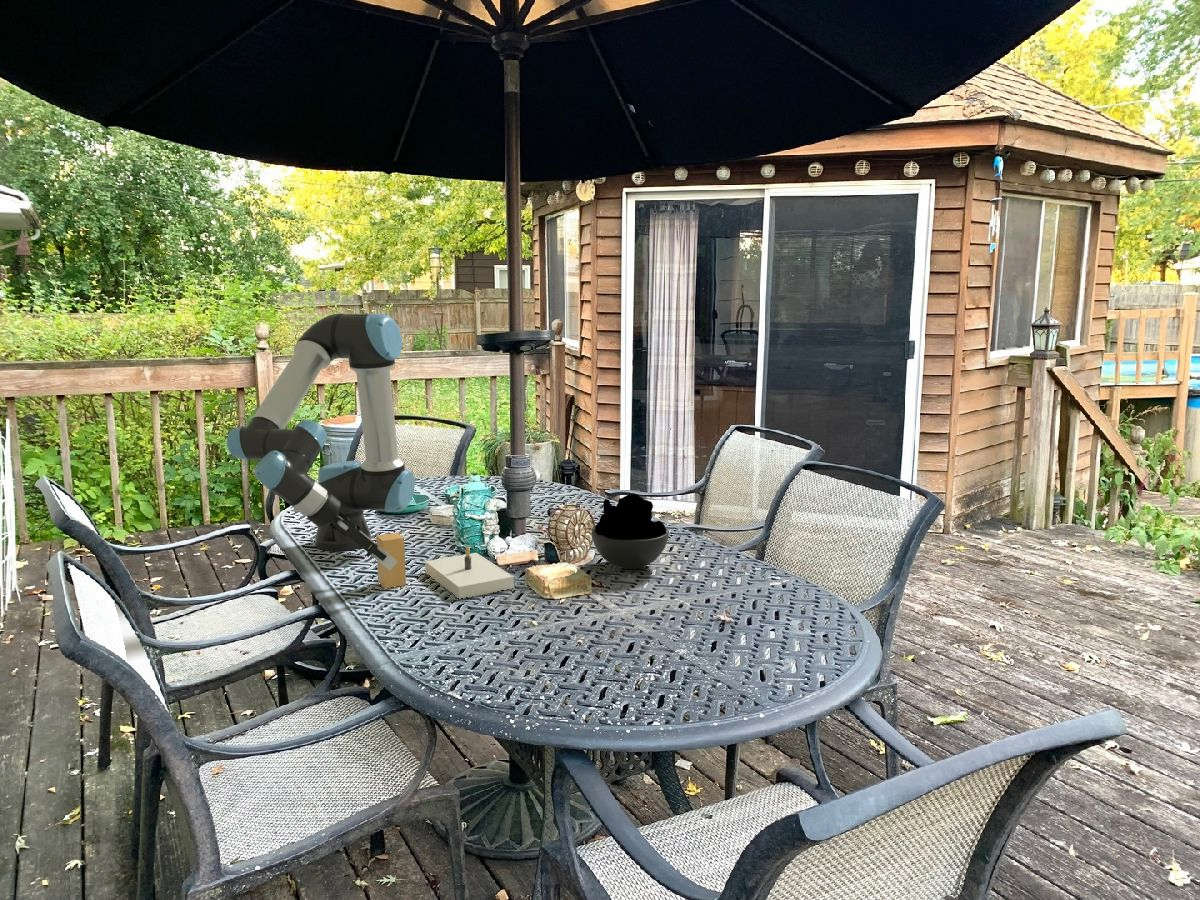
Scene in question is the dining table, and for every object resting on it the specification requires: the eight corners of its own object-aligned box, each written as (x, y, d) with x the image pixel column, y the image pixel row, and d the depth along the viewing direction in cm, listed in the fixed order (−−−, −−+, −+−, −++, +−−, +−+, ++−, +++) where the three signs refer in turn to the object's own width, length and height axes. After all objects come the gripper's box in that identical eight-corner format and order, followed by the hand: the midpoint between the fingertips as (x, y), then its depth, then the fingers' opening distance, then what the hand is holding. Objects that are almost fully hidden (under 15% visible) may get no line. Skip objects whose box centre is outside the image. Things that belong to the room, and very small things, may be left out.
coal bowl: (668, 556, 224) (670, 489, 220) (667, 581, 204) (669, 507, 201) (595, 554, 225) (595, 487, 222) (587, 578, 206) (587, 505, 202)
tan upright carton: (378, 582, 202) (376, 535, 199) (398, 579, 204) (397, 532, 202) (384, 589, 197) (382, 540, 195) (405, 585, 200) (404, 537, 198)
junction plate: (425, 572, 209) (424, 540, 208) (476, 563, 217) (475, 532, 215) (459, 599, 191) (458, 564, 189) (513, 588, 198) (513, 554, 197)
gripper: (293, 505, 197) (359, 556, 207) (318, 530, 176) (390, 585, 187) (315, 481, 199) (379, 533, 209) (342, 503, 178) (412, 559, 188)
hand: (384, 557), depth 198 cm, fingers open, 13 cm apart
